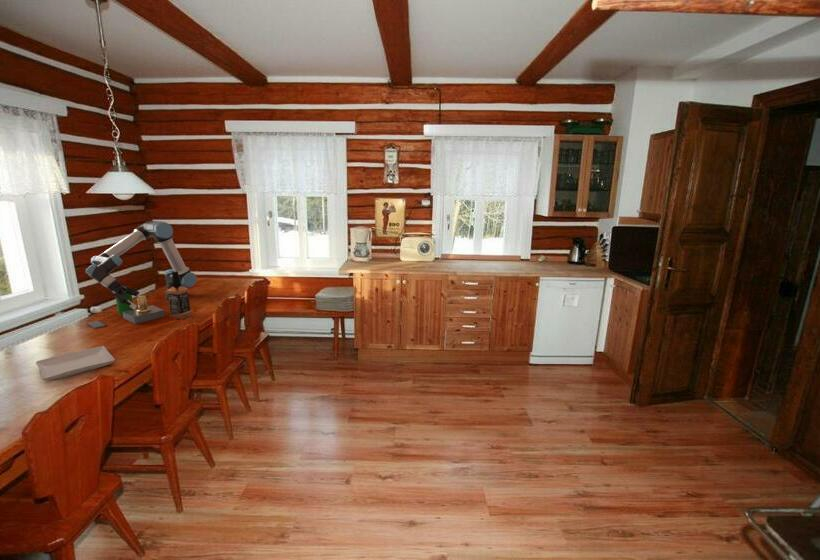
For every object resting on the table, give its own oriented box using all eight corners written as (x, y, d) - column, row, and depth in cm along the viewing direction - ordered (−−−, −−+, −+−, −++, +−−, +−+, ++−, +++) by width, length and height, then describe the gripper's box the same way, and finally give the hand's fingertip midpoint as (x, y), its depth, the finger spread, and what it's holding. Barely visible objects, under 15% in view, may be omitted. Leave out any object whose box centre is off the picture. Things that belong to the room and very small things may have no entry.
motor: (138, 311, 276) (133, 284, 271) (128, 315, 267) (123, 287, 262) (125, 311, 277) (120, 284, 272) (114, 315, 268) (109, 287, 263)
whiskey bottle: (169, 318, 262) (162, 272, 254) (181, 314, 271) (175, 269, 264) (181, 320, 259) (174, 274, 251) (193, 315, 268) (187, 270, 261)
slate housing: (153, 313, 273) (152, 305, 271) (165, 318, 263) (164, 310, 261) (124, 320, 258) (122, 311, 257) (135, 326, 248) (134, 317, 247)
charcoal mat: (112, 318, 262) (111, 317, 262) (120, 322, 254) (120, 321, 254) (86, 324, 251) (86, 323, 250) (94, 328, 243) (94, 327, 243)
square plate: (117, 366, 195) (115, 358, 194) (43, 386, 176) (41, 378, 175) (104, 350, 213) (103, 344, 212) (36, 367, 193) (35, 360, 192)
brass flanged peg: (148, 314, 266) (145, 294, 262) (153, 317, 261) (150, 296, 258) (135, 317, 259) (131, 296, 256) (140, 320, 255) (137, 298, 251)
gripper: (118, 283, 263) (145, 303, 269) (96, 292, 239) (127, 314, 245) (125, 275, 263) (153, 295, 269) (104, 284, 239) (135, 306, 245)
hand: (140, 304), depth 257 cm, fingers open, 13 cm apart
